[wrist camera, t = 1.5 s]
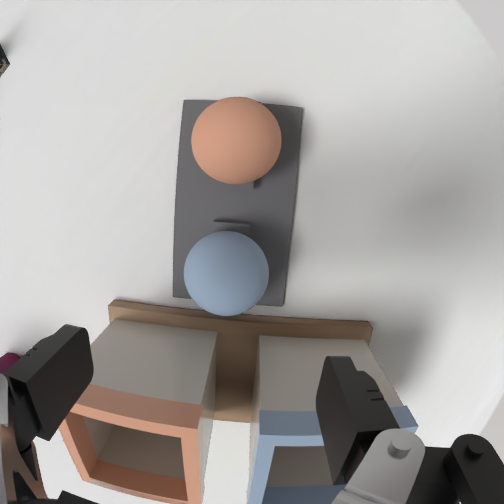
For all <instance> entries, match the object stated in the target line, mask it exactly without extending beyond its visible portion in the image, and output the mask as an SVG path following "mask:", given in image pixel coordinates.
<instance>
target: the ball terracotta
mask: <svg viewBox="0 0 504 504" xmlns="http://www.w3.org/2000/svg"><path fill="white" fill-rule="evenodd" d="M191 145H192V151H193V155H194V157H195V160H196V161H197V163H198V165H199V166H200V168H201V169H202V170H203V171H204V172H205V173H206V174H208V175H209V176H210V177H212V178H214V179H215V180H218V181H220V182H223V183H227V184H245V183H249V182H252V181H255V180H257V179H259V178H260V177H262V176H263V175H265V174H266V173H267V172H268V171H269V170H270V169H271V168H272V166H273V165H274V164H275V162H276V160H277V158H278V156H279V153H280V149H281V131H280V127H279V125H278V122H277V120H276V119H275V117H274V116H273V114H272V113H271V112H270V111H269V110H268V109H267V108H266V107H265V106H263V105H262V104H260V103H259V102H257V101H255V100H252V99H249V98H244V97H229V98H225V99H221V100H219V101H216V102H215V103H213V104H211V105H210V106H208V107H207V108H206V109H205V110H204V111H203V112H202V113H201V114H200V116H199V117H198V119H197V120H196V122H195V125H194V127H193V131H192V136H191Z"/></svg>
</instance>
